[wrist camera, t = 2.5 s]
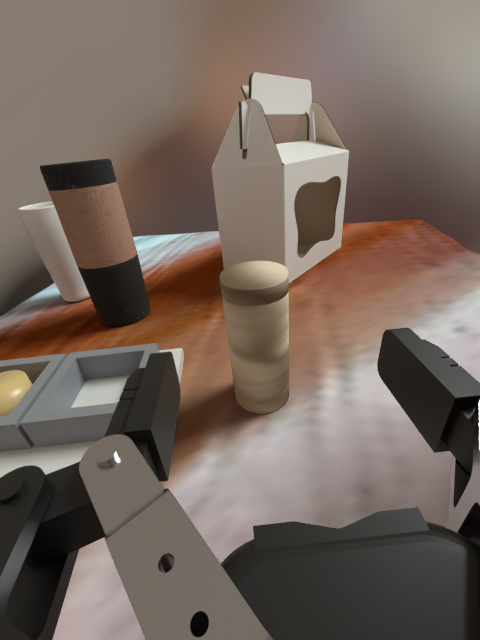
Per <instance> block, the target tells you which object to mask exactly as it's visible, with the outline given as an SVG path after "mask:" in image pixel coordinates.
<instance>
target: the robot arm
mask: <svg viewBox="0 0 480 640" xmlns="http://www.w3.org/2000/svg"><path fill="white" fill-rule="evenodd" d="M378 372H379V375H380V377H381V379H382V380H383V382H384V383H385V385H386V386H387V387H388V389H389V390H390V392H391V393H392V394H393V396H394V397H395V399H396V400H397V401H398V403H399V404H400V405H401V407H402V408H403V410H404V411H405V412H406V414H407V415H408V417H409V418H410V419H411V421H412V422H413V424H414V425H415V426H416V428H417V429H418V431H419V432H420V433H421V435H422V436H423V437H424V439H425V440H426V442H427V443H428V444H429V446H430V447H431V449H432V450H433V451H434V452H443V451H451V453H452V454H453V455H454V458H453V460H452V463H451V477H450V493H449V510H448V518H447V523H446V526H445V527H443V526H440V525H436V524H433V523H429V522H426V521H425V520H424V518H423V516H422V514H421V513H420V511H419V509H418V507H417V508H408V509H400V510H391V511H382V512H377V513H374V514H372V515H370V516H368V517H366V518H363V519H361V520H359V521H357V522H355V523H353V524H350V525H348V526H346V527H344V528H340V529H335V528H329V527H323V526H317V525H311V524H305V523H300V522H285V523H277V524H268V525H259V526H253V530H254V539H253V540H251V541H249V542H247V543H245V544H243V545H242V546H240V547H239V548H237V549H236V550H235V551H234V552H232V553H231V554H230V555H229V556H228V557H227V558H226V559H225V560H224V561H223V562H222V563H221V564H220V563H219V561H218V560H217V558H216V557H215V555H214V554H213V553H212V551H211V550H210V548H209V547H208V545H207V544H206V542H205V541H204V539H203V538H202V536H201V535H200V533H199V532H198V531H197V529H196V528H195V526H194V525H193V523H192V522H191V520H190V519H189V517H188V516H187V514H186V513H185V511H184V510H183V509H182V507H181V506H180V504H179V503H178V501H177V500H176V498H175V497H174V495H173V494H172V493H171V492H170V490H169V489H167V488H166V489H164V488H163V486H162V485H161V483H160V481H168V477H169V471H170V464H171V457H172V451H173V444H174V437H175V431H176V424H177V417H178V411H179V404H180V383H179V379H178V374H177V370H176V366H175V362H174V358H173V354H172V352H171V351H170V352H160V353H151V354H150V355H149V358H148V361H147V364H146V367H145V368H137V369H136V370H135V371H134V372H133V373H132V374H131V375H130V376H129V377H128V378H127V381H126V383H125V386H124V388H123V392H122V394H121V396H120V401H118V404H117V406H116V409H115V411H114V414H113V416H112V419H111V421H110V424H109V426H108V429H107V431H106V434H105V436H104V438H102V439H100V440H98V441H97V442H95V443H94V444H93V445H92V446H90V447H89V448H88V450H87V451H86V452H85V453H84V455H83V456H82V458H81V461H79V462H77V463H75V464H72V465H70V466H67V467H65V468H62V469H59V470H57V471H54V472H51V473H49V474H46V475H45V473H44V472H43V470H42V469H41V468H40V467H38V466H32V465H30V466H23V467H20V468H17V469H15V470H12V471H10V472H9V473H7V474H5V475H4V476H2V477H1V478H0V640H52V639H53V635H54V632H55V629H56V625H57V622H58V618H59V615H60V612H61V608H62V605H63V602H64V598H65V595H66V591H67V588H68V585H69V581H70V578H71V575H72V571H73V568H74V565H75V561H76V558H77V554H78V551H79V549H80V548H82V547H84V546H86V545H88V544H90V543H93V542H95V541H97V540H99V539H101V538H103V537H105V540H106V543H107V546H108V549H109V551H110V553H111V556H112V558H113V561H114V563H115V566H116V568H117V571H118V573H119V575H120V578H121V580H122V583H123V585H124V588H125V590H126V592H127V595H128V597H129V600H130V602H131V605H132V607H133V609H134V612H135V614H136V617H137V619H138V622H139V624H140V627H141V629H142V631H143V634H144V636H145V639H146V640H480V383H479V382H478V381H477V380H476V379H474V378H473V377H472V376H471V375H470V374H469V373H468V372H467V371H465V370H464V369H463V368H462V367H461V366H458V363H456V362H455V361H454V360H453V359H452V358H449V356H448V355H447V354H446V353H445V352H444V351H443V350H442V349H441V348H439V347H438V346H436V345H434V344H432V343H430V342H428V341H426V340H422V339H420V338H419V337H418V336H417V335H416V334H415V333H414V332H413V331H412V330H411V329H409V328H400V329H390V330H386V331H385V332H384V334H383V338H382V343H381V348H380V353H379V358H378Z"/></svg>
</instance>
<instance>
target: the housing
mask: <svg viewBox="0 0 480 640" xmlns="http://www.w3.org/2000/svg"><path fill="white" fill-rule="evenodd" d="M170 351H171V352H172V354H173V358H174V362H175V366H176V370H177V374H178V379H179V383H180V381H181V375H182V368H183V362H184V353H183V349H182V348H178V349H169V350H160V351H159V348H158V345H157V343H154V344H145V345H136V346H127V347H118V348H109V349H101V350H92V351H83V352H74V353H70V354H69V355H68V356H67V355H66V353H65V354H56V355H47V356H38V357H29V358H21V359H12V360H3V361H0V478H1V477H2V476H4V475H5V474H7V473H9V472H10V471H12V470H15V469H17V468H20V467H23V466H30V465H32V466H38V467H40V468H41V469H42V470H43V472H44V473H45V475H46V474H49V473H51V472H54V471H57V470H59V469H62V468H65V467H67V466H70V465H72V464H75V463H77V462H79V461H81V458H82V456H83V455H84V453H85V452H86V451H87V450H88V448H89V447H90V446H92V445H93V444H94V443H95V442H97V441H98V440H100V439H102V438H104V436H105V434H106V431H107V429H108V426H109V424H110V421H111V419H112V416H113V414H114V411H115V409H116V406H117V404H118V401H120V396H121V394H122V392H123V388H124V386H125V383H126V381H127V378H128V377H129V376H130V375H131V374H132V373H133V372H134V371H135V370H136V369H137V368H145V367H146V364H147V361H148V358H149V355H150V354H151V353H160V352H170Z"/></svg>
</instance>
